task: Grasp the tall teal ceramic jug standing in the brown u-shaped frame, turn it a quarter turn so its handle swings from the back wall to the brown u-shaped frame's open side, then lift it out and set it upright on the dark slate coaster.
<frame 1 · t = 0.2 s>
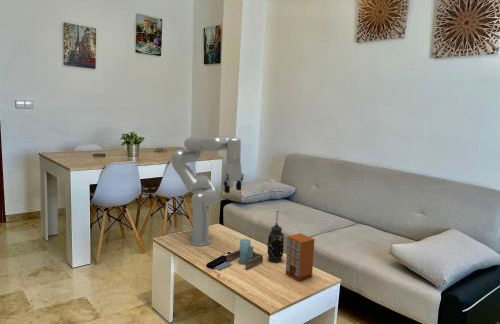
hand: (232, 191, 212), 36 cm above the table, tool pointing down, fingers open, 9 cm apart
lantern: (274, 260, 211), on the table
coaster: (219, 265, 201), on the table
miniature building: (298, 276, 193), on the table
brown u-shaped frame: (244, 262, 206), on the table
jug: (246, 252, 205), in the brown u-shaped frame
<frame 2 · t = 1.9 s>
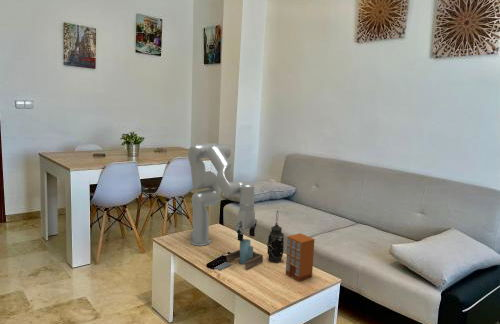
hand: (246, 238, 204), 14 cm above the table, tool pointing down, fingers open, 9 cm apart
nothing on the table moved.
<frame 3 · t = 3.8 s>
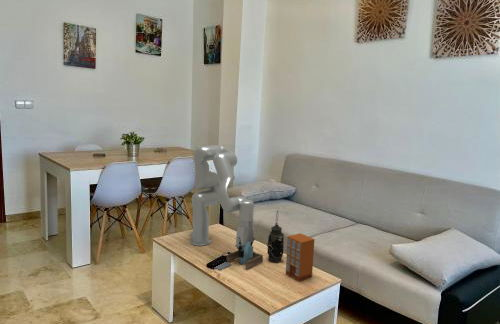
hand: (244, 255, 206), 4 cm above the table, tool pointing down, fingers closed on jug, 5 cm apart
jug: (246, 252, 205), in the brown u-shaped frame, touching gripper
everything else where it was.
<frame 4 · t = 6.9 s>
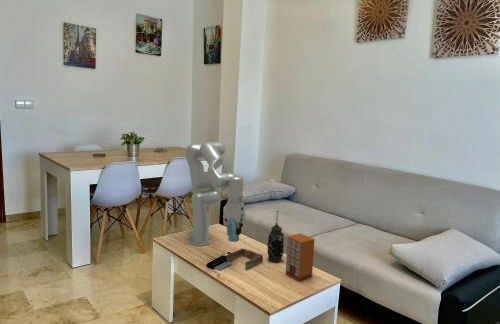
hand: (233, 232, 202), 17 cm above the table, tool pointing down, fingers closed on jug, 5 cm apart
jug: (232, 229, 200), point 19 cm above the table, touching gripper
everything else where it was.
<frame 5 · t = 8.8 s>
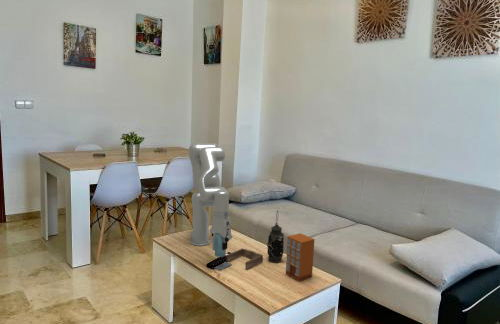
hand: (220, 247, 200), 10 cm above the table, tool pointing down, fingers closed on jug, 5 cm apart
jug: (218, 244, 198), point 12 cm above the table, touching gripper
everything else where it was.
when the fingers open (5 cm above the table, at t = 10.5 s): jug stays where it is, resting on coaster.
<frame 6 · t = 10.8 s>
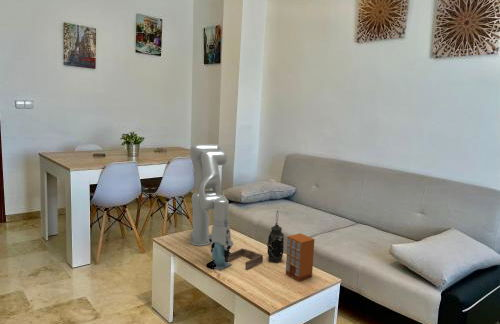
hand: (220, 254, 200), 6 cm above the table, tool pointing down, fingers open, 8 cm apart
jug: (218, 253, 200), on the coaster, point 7 cm above the table
everything else where it was.
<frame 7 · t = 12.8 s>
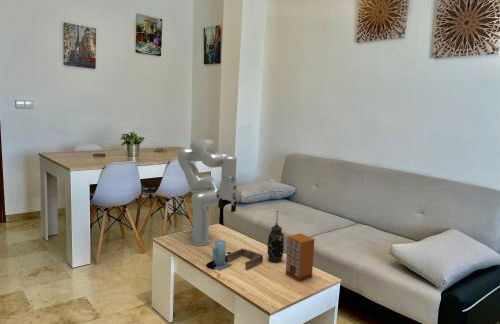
hand: (226, 209, 208), 27 cm above the table, tool pointing down, fingers open, 9 cm apart
nothing on the table moved.
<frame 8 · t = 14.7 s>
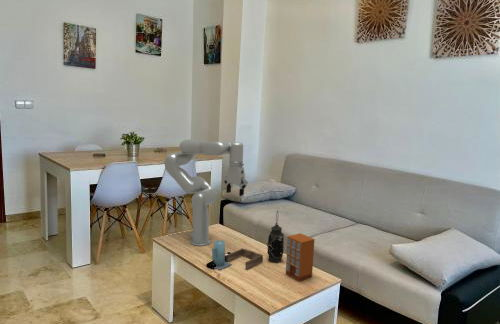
hand: (235, 193, 218), 33 cm above the table, tool pointing down, fingers open, 9 cm apart
nothing on the table moved.
at the end: jug inside the target area on the coaster (0.2 cm from its centre), point 6.7 cm above the coaster's base; jug tilted 2°; the gripper is holding nothing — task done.
